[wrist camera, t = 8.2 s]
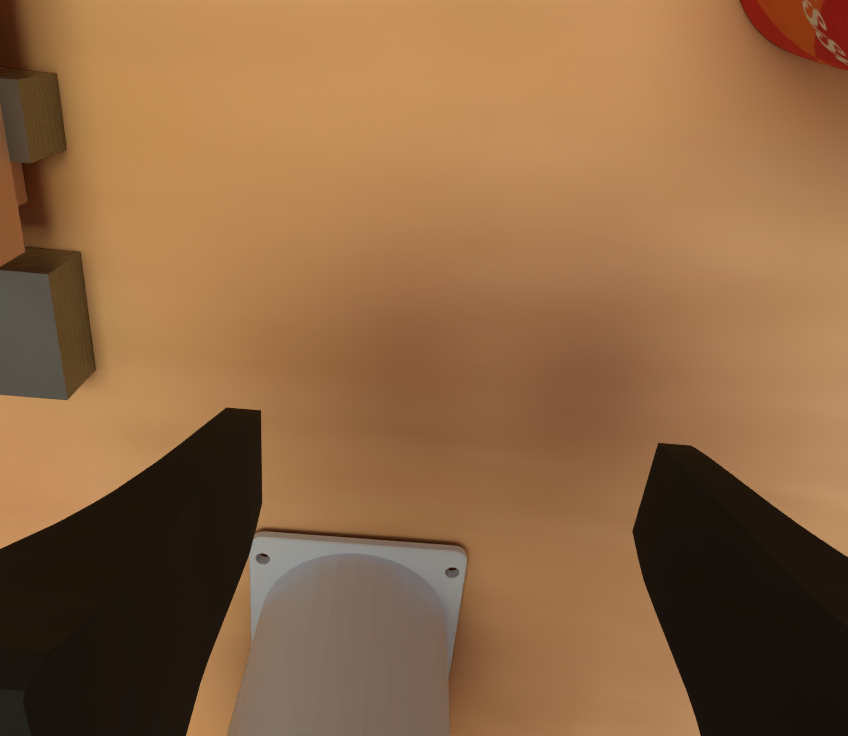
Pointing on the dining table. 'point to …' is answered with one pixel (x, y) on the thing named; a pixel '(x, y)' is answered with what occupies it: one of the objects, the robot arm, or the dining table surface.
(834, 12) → the paper cup
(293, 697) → the robot arm
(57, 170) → the dining table surface
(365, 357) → the dining table surface
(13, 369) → the set of grey blocks
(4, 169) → the tan rectangular block
